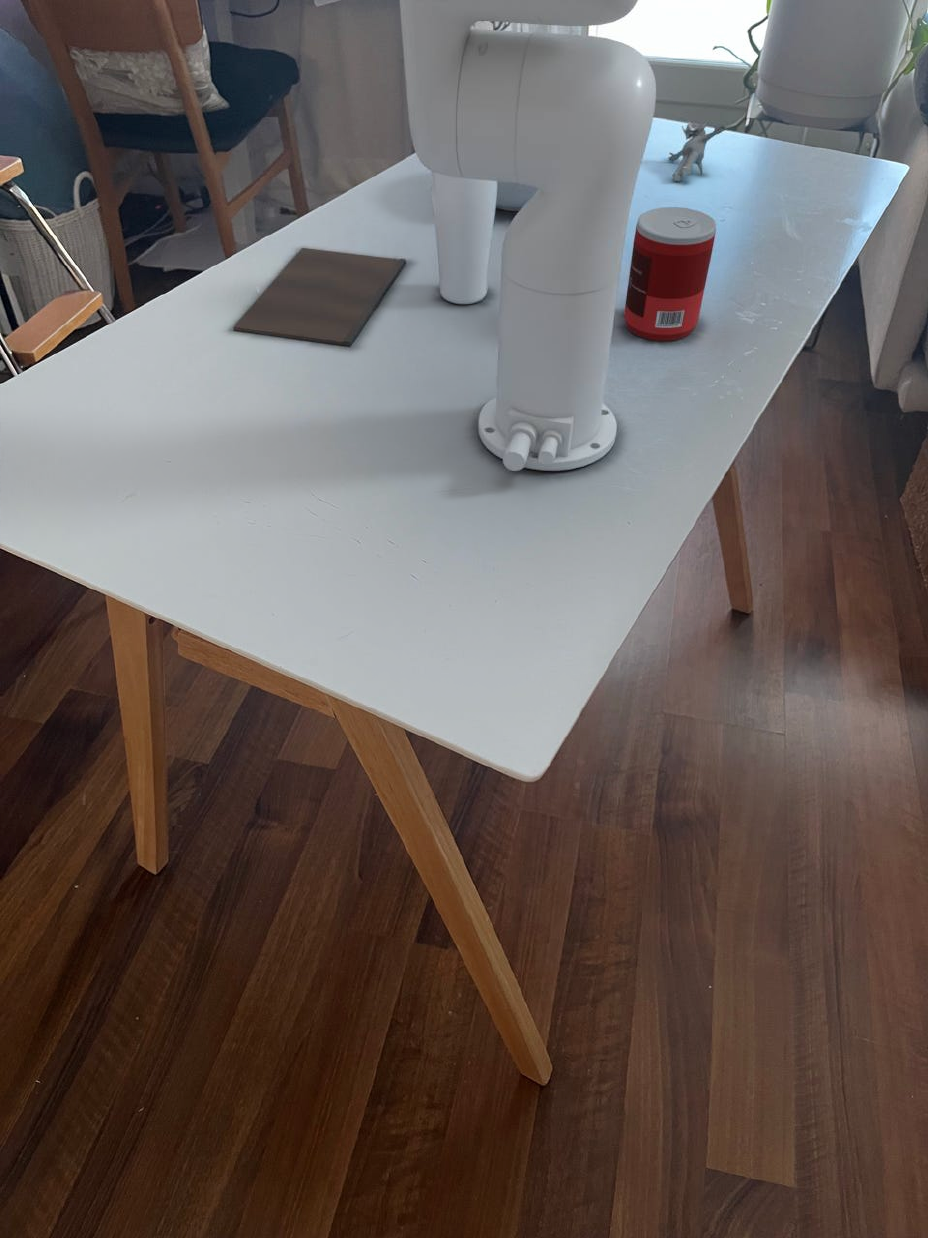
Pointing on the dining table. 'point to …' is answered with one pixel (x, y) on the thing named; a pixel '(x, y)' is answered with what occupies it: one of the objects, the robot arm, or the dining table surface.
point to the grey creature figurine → (693, 148)
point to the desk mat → (322, 297)
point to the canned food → (668, 272)
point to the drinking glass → (463, 235)
